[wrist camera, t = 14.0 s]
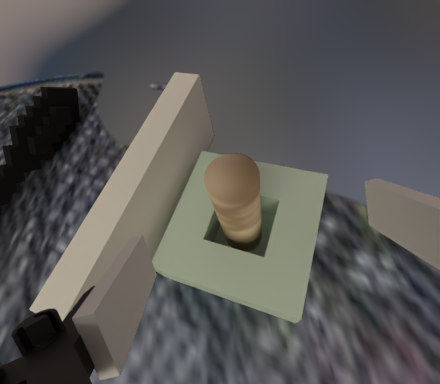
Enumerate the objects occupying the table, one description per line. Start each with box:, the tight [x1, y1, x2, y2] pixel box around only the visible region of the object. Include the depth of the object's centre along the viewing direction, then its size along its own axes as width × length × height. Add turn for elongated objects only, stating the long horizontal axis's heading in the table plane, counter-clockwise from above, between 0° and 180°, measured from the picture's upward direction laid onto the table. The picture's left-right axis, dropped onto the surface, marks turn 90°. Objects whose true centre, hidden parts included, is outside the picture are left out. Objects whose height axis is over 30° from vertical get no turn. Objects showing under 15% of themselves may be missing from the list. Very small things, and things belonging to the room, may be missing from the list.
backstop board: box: [29, 72, 214, 321], centre depth 28 cm, size 3×26×10 cm, turn 161°
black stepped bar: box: [0, 87, 80, 215], centre depth 35 cm, size 35×4×8 cm, turn 159°
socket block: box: [152, 151, 328, 323], centre depth 28 cm, size 14×14×5 cm
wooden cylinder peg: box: [204, 153, 262, 252], centre depth 24 cm, size 4×4×12 cm
